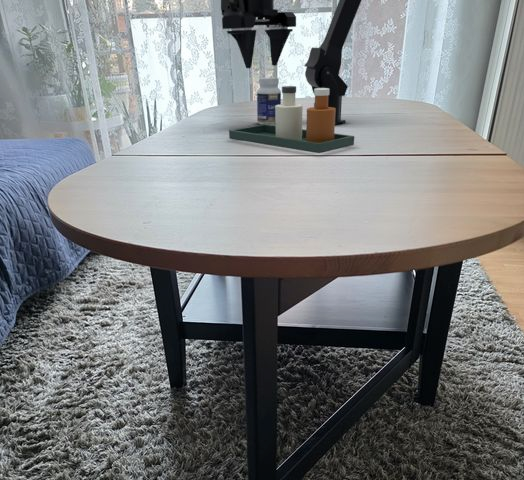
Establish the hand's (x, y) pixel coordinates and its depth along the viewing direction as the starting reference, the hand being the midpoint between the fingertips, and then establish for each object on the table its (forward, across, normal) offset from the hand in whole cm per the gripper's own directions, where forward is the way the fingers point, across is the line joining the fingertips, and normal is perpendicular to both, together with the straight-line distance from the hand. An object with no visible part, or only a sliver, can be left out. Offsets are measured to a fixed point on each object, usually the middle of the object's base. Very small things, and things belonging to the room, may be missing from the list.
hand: (261, 66), depth 113 cm
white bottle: (+12, +14, +18) cm, 26 cm away
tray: (+12, +14, +18) cm, 26 cm away
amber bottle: (+12, +15, +26) cm, 32 cm away
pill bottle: (+13, -5, -2) cm, 14 cm away
